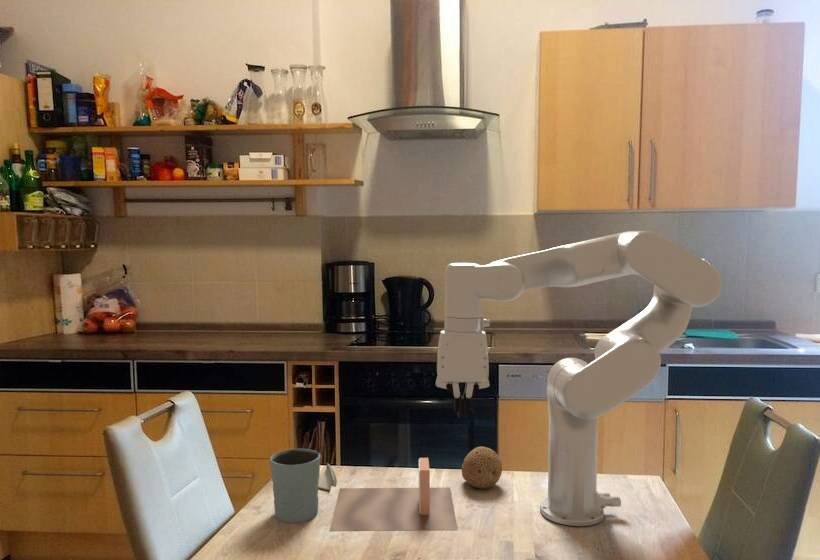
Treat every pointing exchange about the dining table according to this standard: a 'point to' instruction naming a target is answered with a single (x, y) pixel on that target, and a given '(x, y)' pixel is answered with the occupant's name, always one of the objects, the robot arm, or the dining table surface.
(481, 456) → the natural sponge
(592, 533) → the dining table surface
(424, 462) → the tile
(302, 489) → the grey green cup
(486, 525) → the dining table surface
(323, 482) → the ceramic fragment
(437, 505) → the board
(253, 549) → the dining table surface
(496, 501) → the dining table surface
